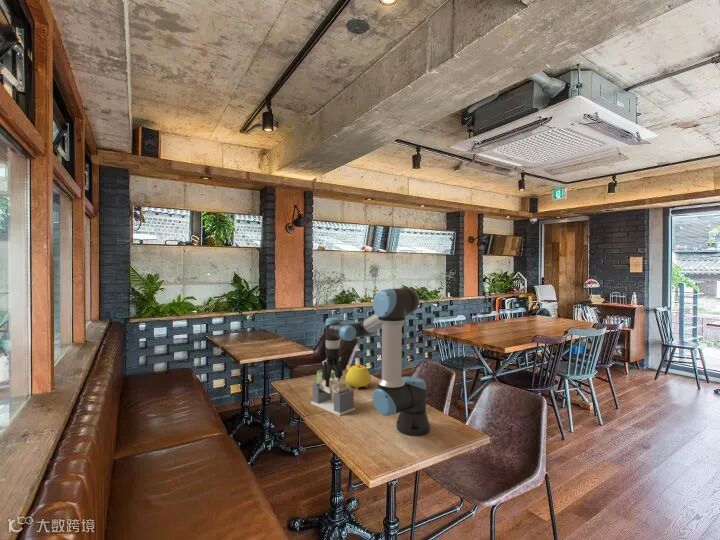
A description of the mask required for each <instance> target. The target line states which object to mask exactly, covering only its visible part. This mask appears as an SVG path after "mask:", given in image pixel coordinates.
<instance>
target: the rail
mask: <svg viewBox="0 0 720 540" xmlns="http://www.w3.org/2000/svg"><path fill="white" fill-rule="evenodd" d="M330 381H331V393H329V394H331V396H334V393H335V392H336V393H338V394H342V393H345V392H346V389H347V383H346V384H345V383H344V382H341V381H340V380H339V381H336V380H334V379H332V378H330ZM320 389H321V390H323V391H325V392H326V381H325V380H323V379H322V377H321V378H320Z"/></svg>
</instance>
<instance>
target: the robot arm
mask: <svg viewBox="0 0 720 540" xmlns="http://www.w3.org/2000/svg"><path fill="white" fill-rule="evenodd" d="M419 306H420V297H419V295H418V293H417V292H416V291H415V290H414V289H411V288H408V287H400V288H387V289H381V290H379V291H378V292H377V293H376V294H375V296H373V300H372V310H373V312H374V314H372V315H370V316H369V317H367V318H366V319H364V320H363V321H360V322H354V323H345V324H344V323H341V319H340V318H338V317H328V318H326V320H325V330H324V331H325V356H326V357H325V360H322V361H321V363H320V364H321V365H322V368H321V370H322V379H323V380H325V381H326V392H327V393H331V381H330V375H331V370H333V371H334V380H336V381H339V382H340V379H341V378H342V376H343V370H344V369H343V366H344V365H343V364H344V363H343V362H344V357H341V356H340V354H341V351H340V350H341V348H340V347H341V340H344V341H345V342H346V341H348V342H350V341H351V342H352V341H353V340H354V339H356V338H363V337H369V336H372V335H374V334H375V332H376V331H377V330H380V329H381V378H380V379H379V380H378V382H377V388H376V389H375V390H374V391H373V392H372V393H373V394H372V402H373V403H372V404H373V405H374V407H375V409H376V410H377V412H378V413H379V414H381V415H382V416H384V417H389V416H395V415H396V414H398V416H397V417H398V418H397V421H396V430H397V431H398V432H399V433H401V434H404V435H405V436H413V437H414V436H417V437H418V436H423V435H426V434H428V433H429V432H431V431H430V430H431V425H430V421H429V419H428V416H427V383H426V381H425V380H424V379H422V378H421V377H420V378H419V377H417V376H416V377H415V376H402V373H403V372H402V363H403V362H402V359H403V358H402V357H403V356H402V355H403V354H402V350H403V349H402V347H403V345H402V341H403V340H402V337H403V334H402V330H403V324H404V322H405V321H406V317H407V316H409V315H411V314H412V313H415V312H416V311H417V310H418V308H419ZM332 368H333V369H332Z"/></svg>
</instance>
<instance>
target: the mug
mask: <svg viewBox="0 0 720 540" xmlns="http://www.w3.org/2000/svg"><path fill="white" fill-rule="evenodd" d="M321 377H322V369H319V370H317V371H316V384H318V383H320V378H321ZM330 378H332V379H334V378H335V371H334V369H332V370H331V375H330Z"/></svg>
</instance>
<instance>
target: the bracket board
mask: <svg viewBox="0 0 720 540" xmlns="http://www.w3.org/2000/svg"><path fill="white" fill-rule="evenodd" d="M354 392H355V391H354V390H353V389H350V388H346V392H345V393H342V394H338V393H336V392H335V393H334V395H333V398H332V395H331V394H329V393H327V392H325V391H323V390H321V389H320V383H318V384H317V383H316V384H315V383H314V384H312V401H311V400H310V404H311V405H313V406H317V407H318V408H321V409H323V410H325V411H327V412H330V413H332V414H335V416H339V417H340V416H342V415H344V414H345V415H346V414H348V413H350V412H354V411H355V410H356V407H354V396H355V395H354Z"/></svg>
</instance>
